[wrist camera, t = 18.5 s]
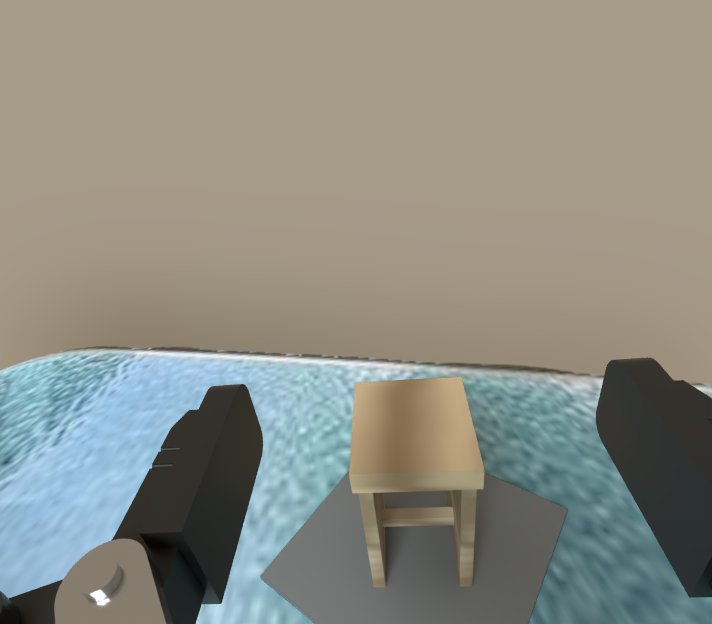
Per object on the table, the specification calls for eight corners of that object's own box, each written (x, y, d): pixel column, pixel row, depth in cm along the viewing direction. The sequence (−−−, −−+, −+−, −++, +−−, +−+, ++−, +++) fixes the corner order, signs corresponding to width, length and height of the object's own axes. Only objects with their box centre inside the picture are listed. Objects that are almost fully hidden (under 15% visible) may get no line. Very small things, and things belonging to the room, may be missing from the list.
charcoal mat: (385, 431, 41) (385, 428, 41) (566, 512, 32) (567, 509, 32) (261, 579, 31) (260, 576, 31) (480, 759, 22) (480, 756, 22)
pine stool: (459, 497, 34) (461, 376, 28) (477, 596, 28) (484, 469, 22) (372, 499, 35) (355, 382, 29) (370, 597, 29) (348, 474, 22)
